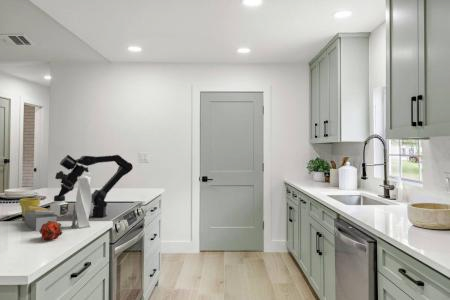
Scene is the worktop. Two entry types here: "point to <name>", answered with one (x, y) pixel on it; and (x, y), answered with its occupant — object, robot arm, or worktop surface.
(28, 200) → the plant pot
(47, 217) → the grey switch box
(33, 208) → the rocker outlet
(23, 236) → the worktop surface
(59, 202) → the medicine bottle
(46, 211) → the rocker outlet
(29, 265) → the worktop surface
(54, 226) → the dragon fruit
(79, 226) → the skyscraper
